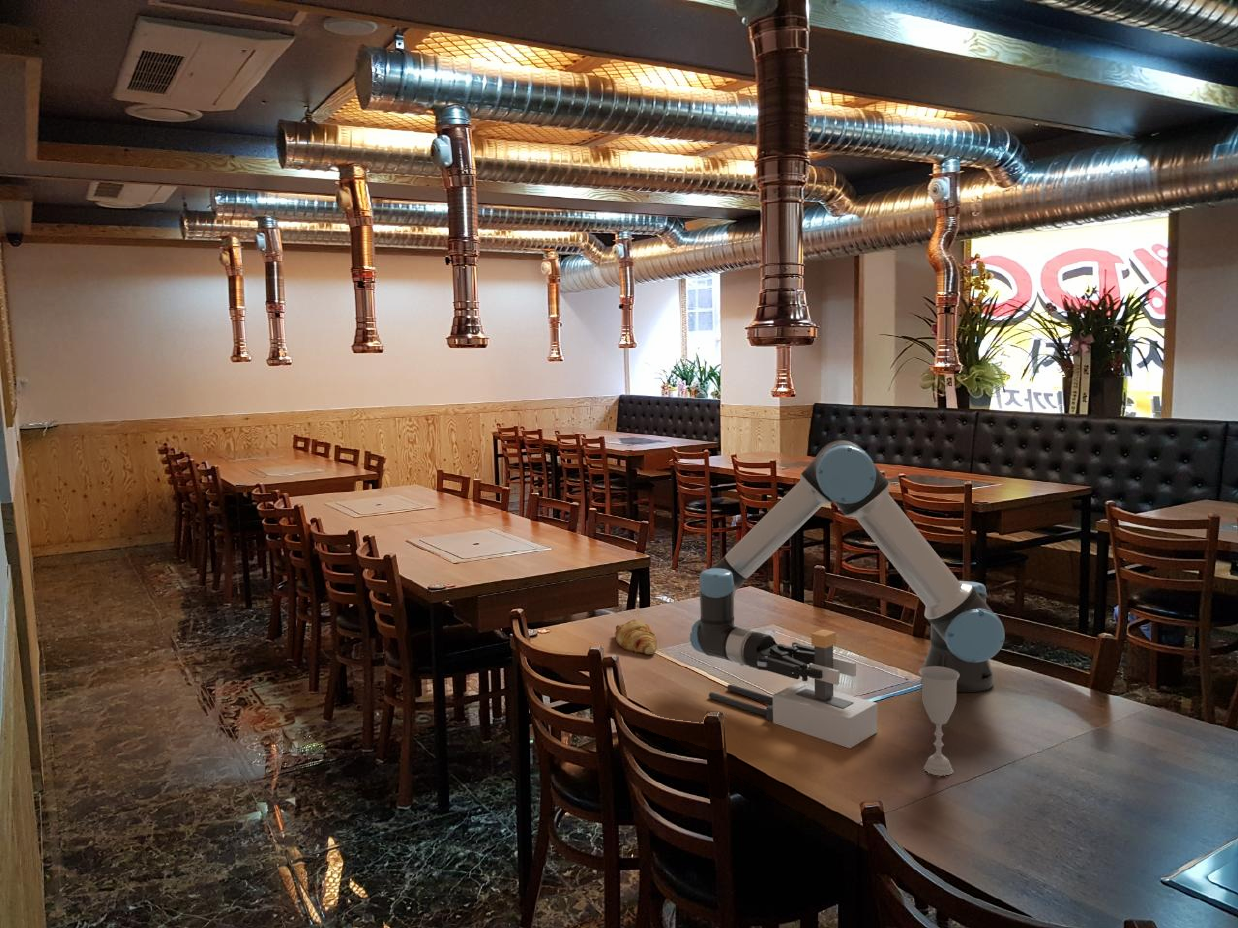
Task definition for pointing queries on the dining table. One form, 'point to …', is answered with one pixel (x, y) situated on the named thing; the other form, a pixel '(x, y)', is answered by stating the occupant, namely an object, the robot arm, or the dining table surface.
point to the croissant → (636, 637)
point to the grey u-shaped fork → (745, 706)
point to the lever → (823, 659)
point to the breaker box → (825, 715)
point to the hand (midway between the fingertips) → (846, 673)
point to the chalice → (939, 710)
